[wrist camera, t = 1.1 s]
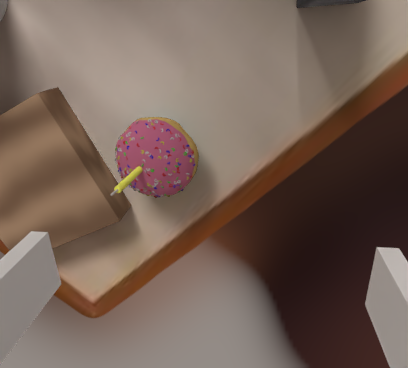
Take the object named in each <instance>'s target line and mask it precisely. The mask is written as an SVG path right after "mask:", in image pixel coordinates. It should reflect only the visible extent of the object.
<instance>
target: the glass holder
mask: <svg viewBox="0 0 408 368" xmlns="http://www.w3.org/2000/svg"><path fill="white" fill-rule="evenodd" d="M7 5H8V0H0V21H1V20H2V19H3V17H4V15H5V13H6V9H7Z"/></svg>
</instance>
